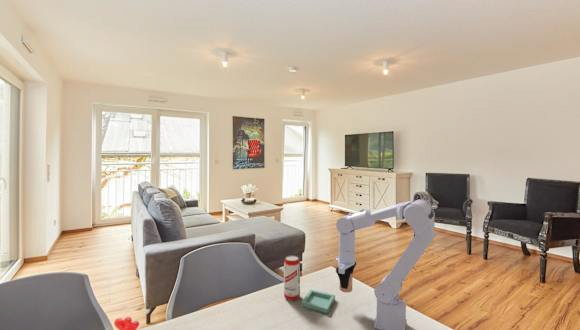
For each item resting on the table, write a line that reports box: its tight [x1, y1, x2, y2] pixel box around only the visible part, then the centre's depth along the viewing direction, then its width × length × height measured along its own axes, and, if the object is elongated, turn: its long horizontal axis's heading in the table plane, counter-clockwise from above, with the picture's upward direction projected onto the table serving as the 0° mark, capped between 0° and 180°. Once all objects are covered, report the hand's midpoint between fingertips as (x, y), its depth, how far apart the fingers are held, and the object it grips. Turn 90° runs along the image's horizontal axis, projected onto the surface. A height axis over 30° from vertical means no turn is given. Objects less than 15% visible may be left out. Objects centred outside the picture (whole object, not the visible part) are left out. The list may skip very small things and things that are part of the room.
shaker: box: [339, 273, 354, 293], centre depth 102 cm, size 5×5×6 cm
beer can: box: [283, 254, 301, 302], centre depth 109 cm, size 6×6×16 cm
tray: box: [300, 289, 336, 315], centre depth 105 cm, size 10×10×2 cm
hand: (346, 284), depth 102 cm, fingers closed on shaker, 5 cm apart
